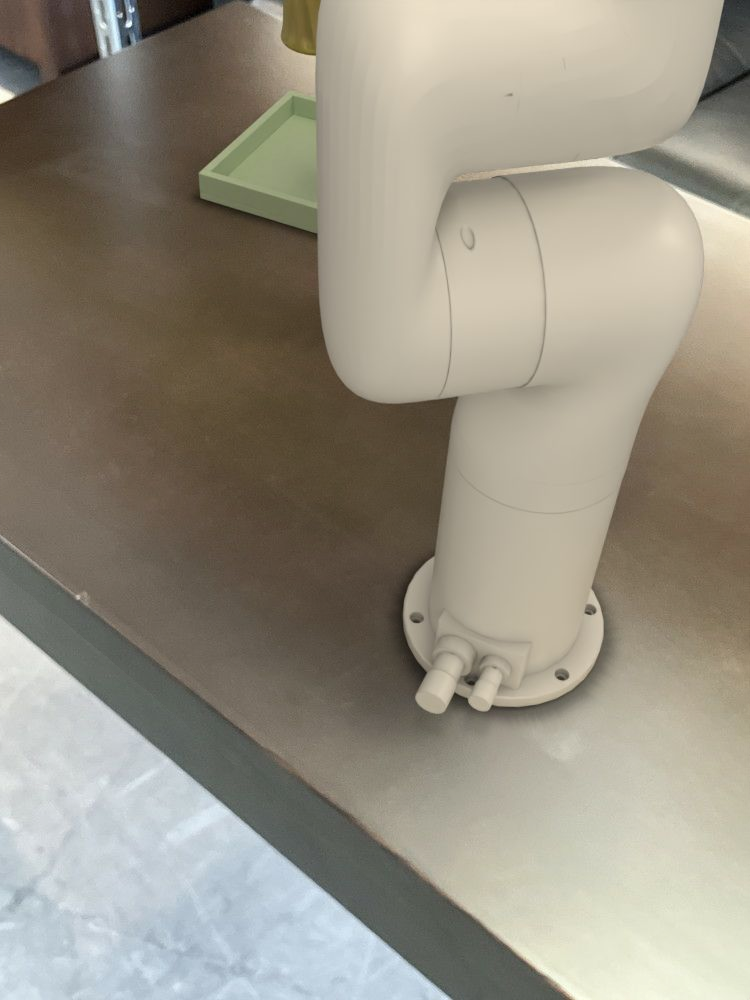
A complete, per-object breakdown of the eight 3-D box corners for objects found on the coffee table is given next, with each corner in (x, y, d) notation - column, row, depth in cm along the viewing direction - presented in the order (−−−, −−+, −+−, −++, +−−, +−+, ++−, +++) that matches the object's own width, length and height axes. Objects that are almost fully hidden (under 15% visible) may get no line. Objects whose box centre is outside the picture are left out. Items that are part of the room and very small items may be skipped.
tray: (354, 245, 101) (355, 219, 99) (200, 198, 105) (198, 173, 103) (432, 153, 112) (434, 129, 110) (289, 114, 116) (289, 89, 114)
